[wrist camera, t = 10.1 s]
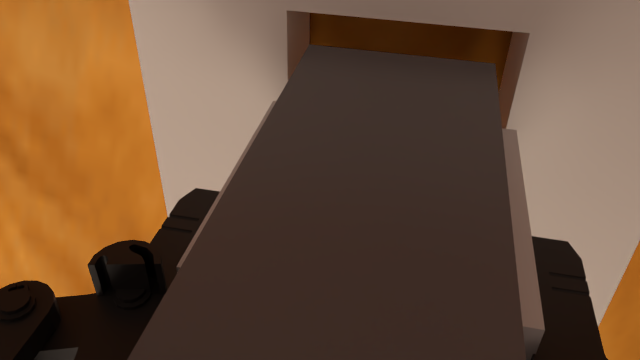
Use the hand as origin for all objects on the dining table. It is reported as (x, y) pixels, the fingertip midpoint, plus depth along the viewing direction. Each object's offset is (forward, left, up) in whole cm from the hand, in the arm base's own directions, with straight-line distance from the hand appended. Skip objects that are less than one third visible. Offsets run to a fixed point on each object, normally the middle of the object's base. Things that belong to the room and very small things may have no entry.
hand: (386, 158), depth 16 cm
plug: (0, 0, -1) cm, 1 cm away
